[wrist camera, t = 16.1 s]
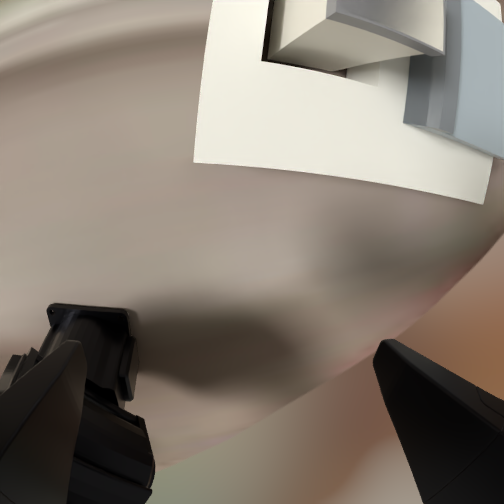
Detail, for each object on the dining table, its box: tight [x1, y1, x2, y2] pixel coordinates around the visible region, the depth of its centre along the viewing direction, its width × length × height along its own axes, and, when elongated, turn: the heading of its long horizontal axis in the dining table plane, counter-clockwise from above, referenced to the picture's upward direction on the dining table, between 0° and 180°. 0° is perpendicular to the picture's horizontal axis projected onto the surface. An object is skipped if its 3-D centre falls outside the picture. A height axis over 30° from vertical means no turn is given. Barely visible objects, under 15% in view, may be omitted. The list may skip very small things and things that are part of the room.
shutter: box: [403, 0, 504, 160], centre depth 12 cm, size 8×9×3 cm
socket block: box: [193, 0, 502, 205], centre depth 14 cm, size 19×16×4 cm
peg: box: [267, 0, 446, 72], centre depth 11 cm, size 4×4×10 cm
